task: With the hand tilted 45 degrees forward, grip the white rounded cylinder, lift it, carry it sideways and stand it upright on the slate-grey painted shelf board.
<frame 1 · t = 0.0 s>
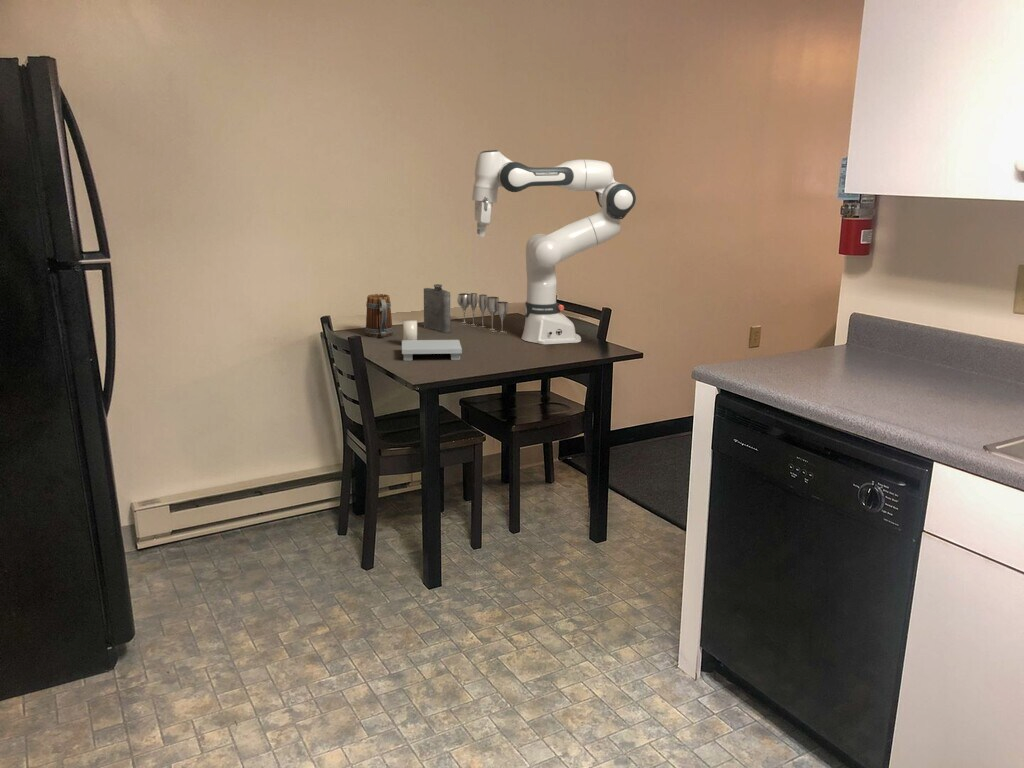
hand: (480, 235, 292), 39 cm above the table, tool pointing down, fingers open, 8 cm apart
flask: (437, 330, 318), on the table
white rounded cylinder: (410, 345, 292), on the table
shelf: (431, 355, 278), on the table
goblet set: (482, 328, 325), on the table
mug: (380, 336, 306), on the table
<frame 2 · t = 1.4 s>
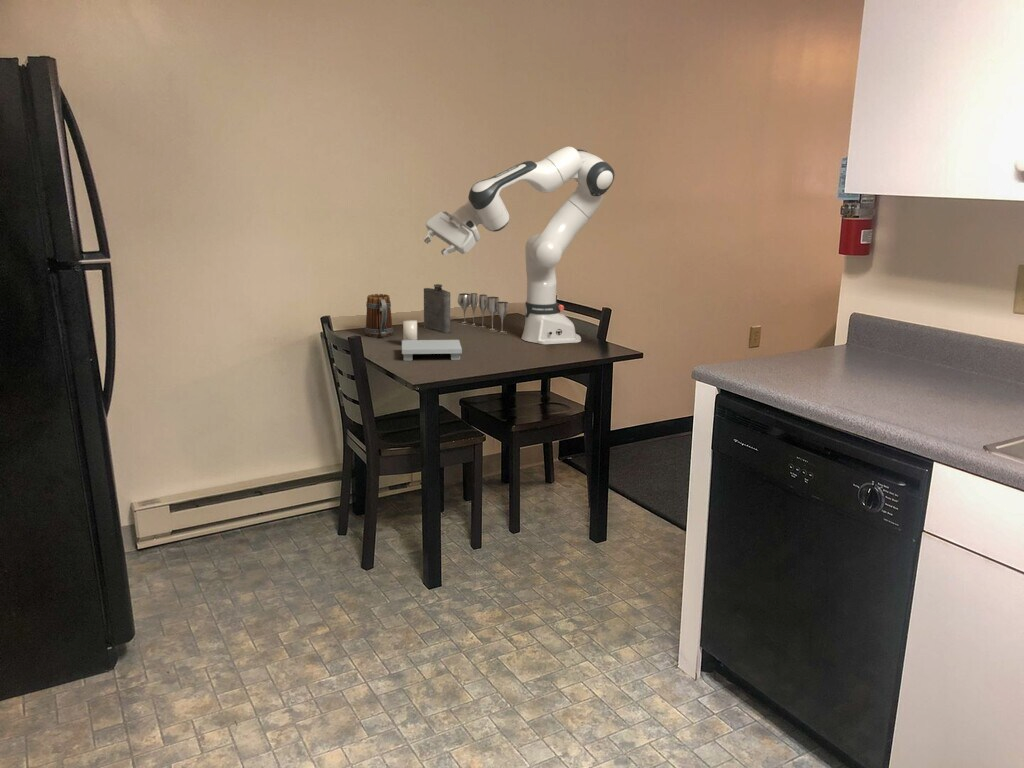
hand: (433, 247, 279), 36 cm above the table, tool tilted 55°, fingers open, 8 cm apart
nothing on the table moved.
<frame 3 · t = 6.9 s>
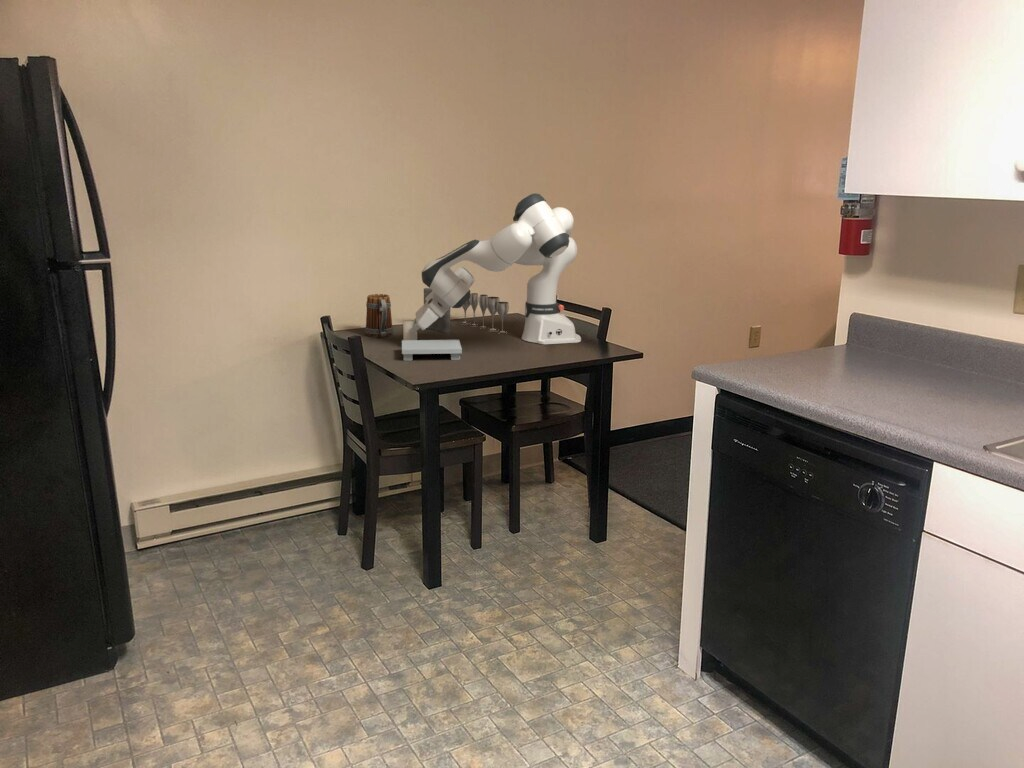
hand: (409, 330, 291), 5 cm above the table, tool tilted 45°, fingers closed on white rounded cylinder, 5 cm apart
white rounded cylinder: (410, 345, 292), on the table, touching gripper
everything else where it was.
when the fingers open (11 cm above the table, at t = 13.7 s): white rounded cylinder drops 2 cm, resting on shelf.
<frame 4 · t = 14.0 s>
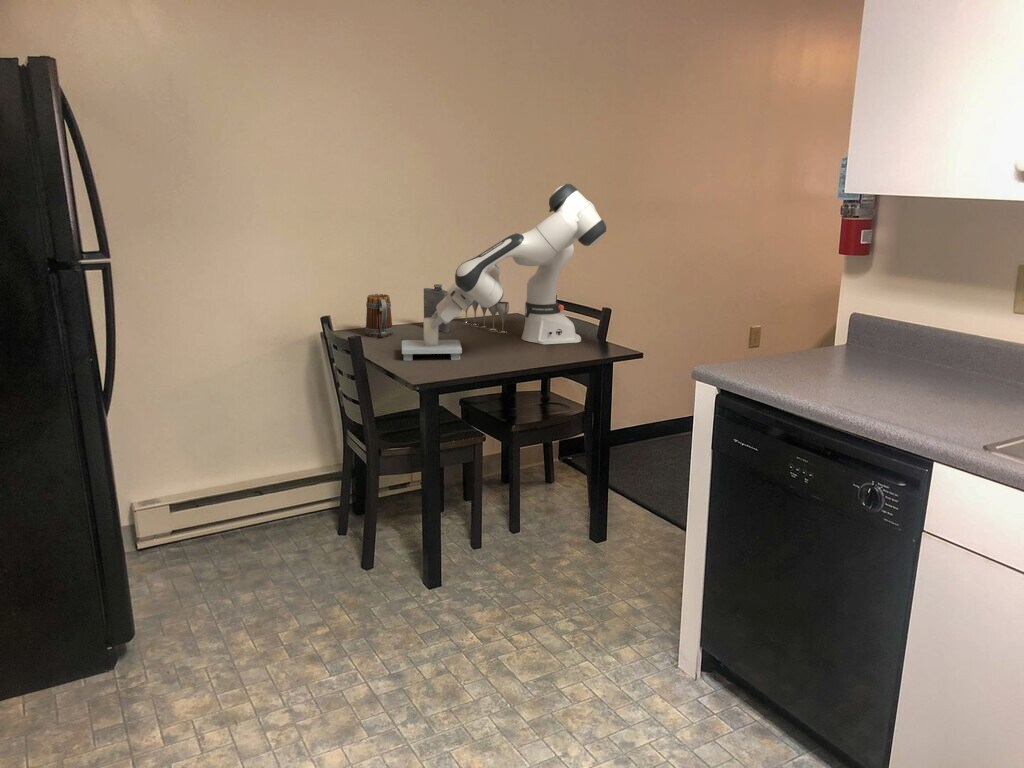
hand: (430, 324, 275), 11 cm above the table, tool tilted 45°, fingers open, 8 cm apart
white rounded cylinder: (431, 344, 277), point 4 cm above the table, touching shelf
everything else where it was.
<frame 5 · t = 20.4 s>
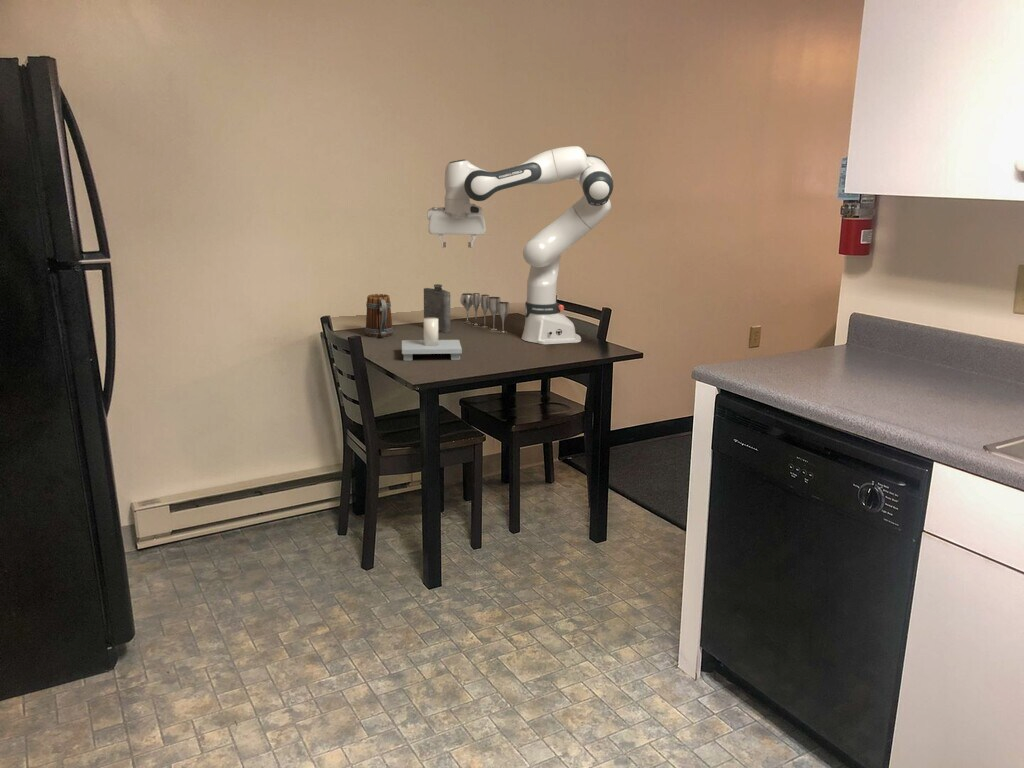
hand: (457, 247, 287), 35 cm above the table, tool pointing down, fingers open, 8 cm apart
nothing on the table moved.
at the end: white rounded cylinder inside the target area on the shelf (0.1 cm from its centre), point 4.0 cm above the shelf's base; white rounded cylinder tilted 0°; the gripper is holding nothing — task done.
